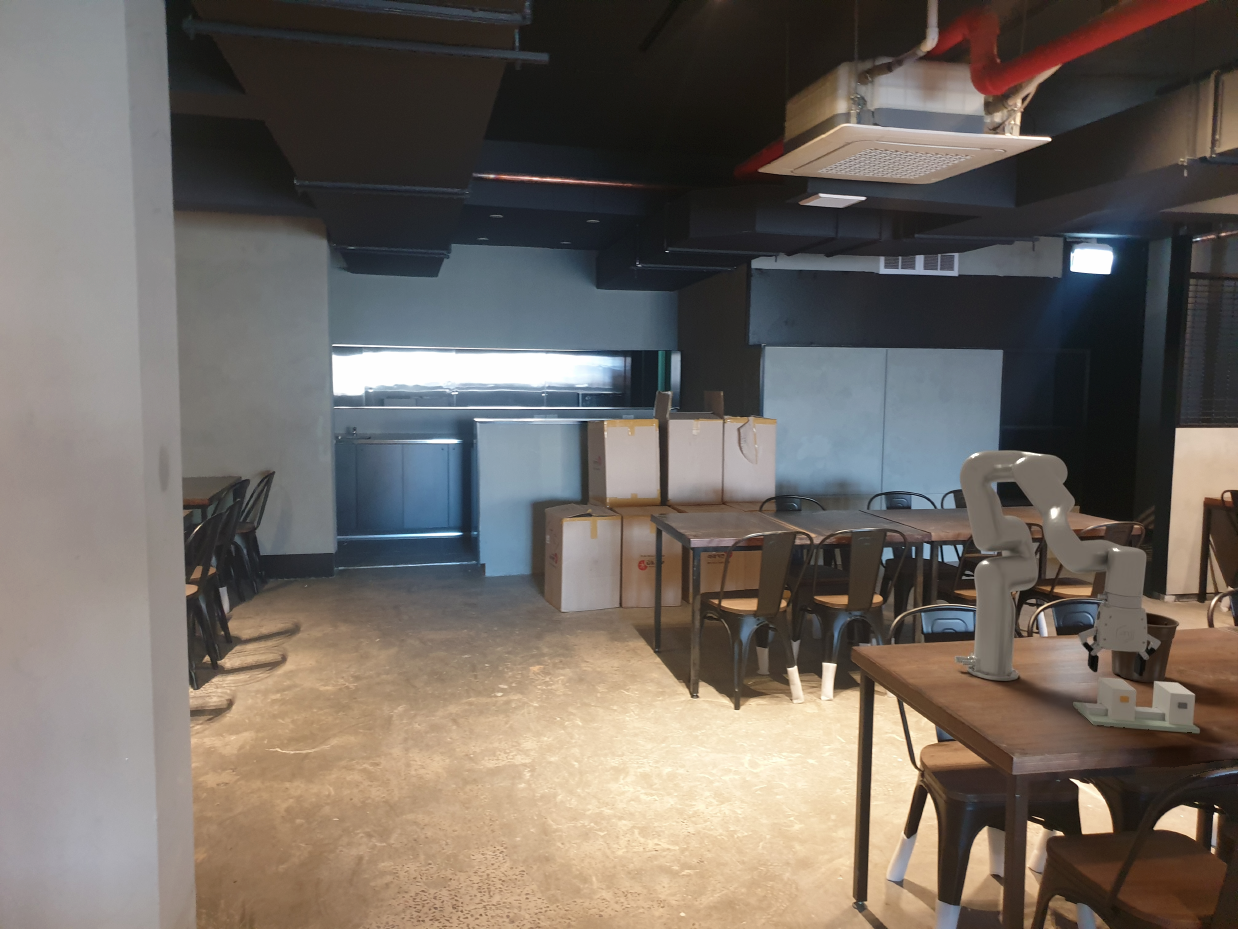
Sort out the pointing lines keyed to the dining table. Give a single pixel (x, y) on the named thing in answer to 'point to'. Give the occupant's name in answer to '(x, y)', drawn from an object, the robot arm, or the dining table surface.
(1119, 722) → the din panel
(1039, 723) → the dining table surface
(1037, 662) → the dining table surface
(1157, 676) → the plant pot
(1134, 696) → the block
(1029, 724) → the dining table surface
